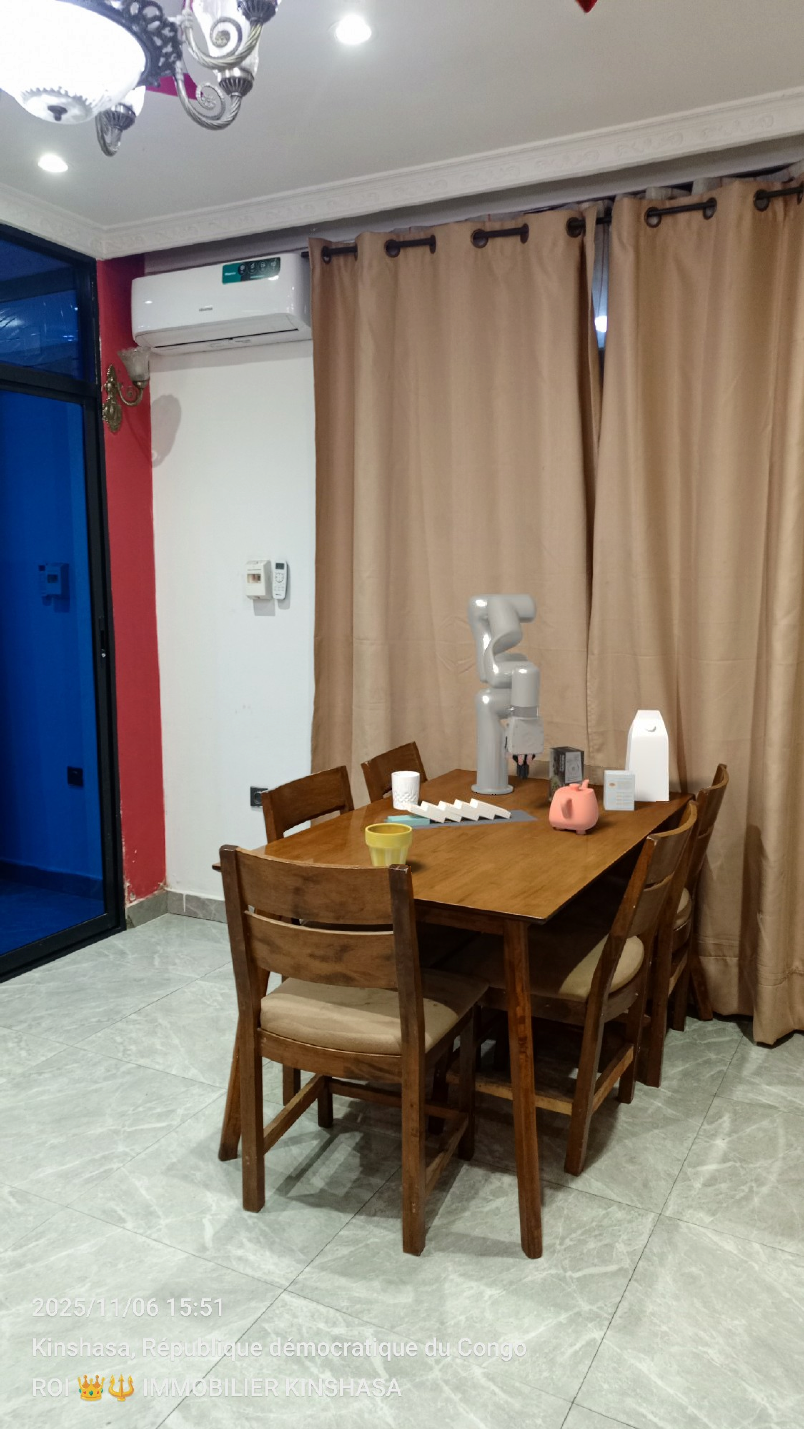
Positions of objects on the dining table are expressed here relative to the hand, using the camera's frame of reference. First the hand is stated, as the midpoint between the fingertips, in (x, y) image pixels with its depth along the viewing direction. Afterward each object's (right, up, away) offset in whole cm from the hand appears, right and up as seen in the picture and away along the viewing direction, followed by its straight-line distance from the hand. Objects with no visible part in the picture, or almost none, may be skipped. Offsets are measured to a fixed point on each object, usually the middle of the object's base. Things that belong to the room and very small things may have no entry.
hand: (522, 777), depth 261 cm
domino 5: (-9, -10, -2) cm, 13 cm away
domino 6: (-4, -10, -1) cm, 11 cm away
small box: (+28, -10, +11) cm, 32 cm away
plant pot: (-36, -18, -48) cm, 62 cm away
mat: (-17, -11, -5) cm, 21 cm away
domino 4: (-13, -10, -4) cm, 17 cm away
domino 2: (-22, -10, -6) cm, 25 cm away
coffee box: (+14, -9, +16) cm, 23 cm away
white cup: (-32, -10, +10) cm, 35 cm away
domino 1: (-26, -10, -7) cm, 29 cm away
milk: (+40, -8, +25) cm, 48 cm away
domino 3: (-18, -10, -5) cm, 21 cm away
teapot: (+12, -13, -12) cm, 21 cm away
